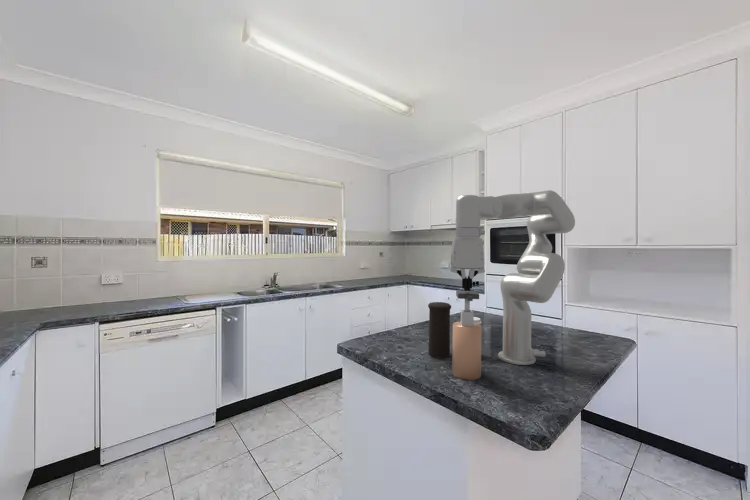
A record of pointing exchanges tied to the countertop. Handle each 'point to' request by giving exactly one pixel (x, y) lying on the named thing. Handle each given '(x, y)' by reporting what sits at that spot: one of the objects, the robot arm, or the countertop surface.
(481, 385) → the countertop surface
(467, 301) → the pump head
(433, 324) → the container
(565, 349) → the countertop surface
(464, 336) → the pump dispenser
